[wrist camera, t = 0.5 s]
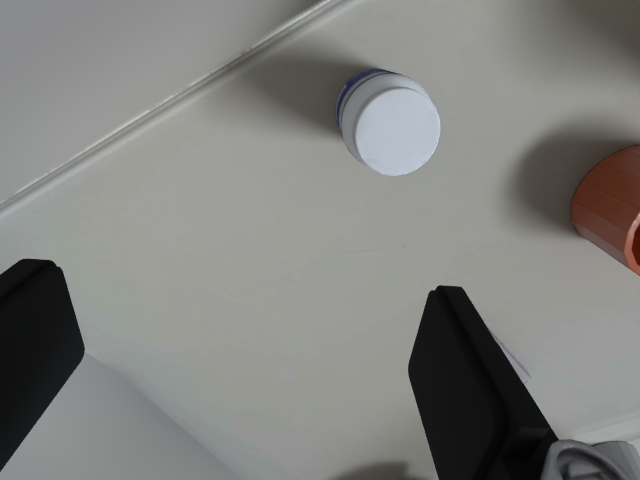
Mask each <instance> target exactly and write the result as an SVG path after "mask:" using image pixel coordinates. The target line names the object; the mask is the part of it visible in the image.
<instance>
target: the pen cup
mask: <svg viewBox="0 0 640 480" xmlns="http://www.w3.org/2000/svg"><path fill="white" fill-rule="evenodd" d="M571 219H572V222H573V225H574V227H575V229H576V230H577V231H578V232H579V233H580V234H581V235H582V236H583V237H585V238H586V239H587V240H589V241H590V242H592V243H593V244H595V245H596V246H597V247H599V248H600V249H602V250H603V251H604V252H606V253H607V254H609V255H610V256H612V257H613V258H614V259H616V260H617V261H619V262H620V263H622V264H623V265H624V266H626V267H627V268H629V269H630V270H632V271H633V272H635V273H636V274H638V275H639V276H640V145H639V146H633V147H629V148H626V149H623V150H621V151H618V152H616V153H614V154H612V155H610V156H609V157H607V158H606V159H604V160H602V161H601V162H600V163H599V164H597V165H596V166H595V167H594V168H593V169H592V170H591V171H590V172H589V173H588V174H587V175H586V176H585V178H584V179H583V180H582V182H581V183H580V185H579V186H578V188H577V190H576V192H575V194H574V197H573V200H572V205H571Z"/></svg>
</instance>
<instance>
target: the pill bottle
mask: <svg viewBox="0 0 640 480" xmlns="http://www.w3.org/2000/svg"><path fill="white" fill-rule="evenodd" d="M335 113H336V120H337V124H338V126H339V128H340V131H341V134H342V137H343V139H344V142H345V144H346V146H347V148H348V150H349V151H350V153H351V154H352V155H353V156H354V157H355V158H356V159H357V160H358V161H359V162H361V163H362V164H364V165H366V166H368V167H369V168H371V169H372V170H374V171H376V172H378V173H380V174H383V175H388V176H399V175H404V174H407V173H410V172H412V171H414V170H416V169H418V168H419V167H421V166H422V165H423V164H424V163H425V162H426V161H427V160H428V159H429V158H430V157H431V155H432V154H433V152H434V150H435V148H436V146H437V144H438V141H439V136H440V119H439V115H438V112H437V110H436V108H435V106H434V105H433V103H432V102H431V100H430V98H429V96H428V94H427V93H426V91H425V90H424V89H423V87H422V86H421V85H420V84H418V83H417V82H416V81H414V80H413V79H411V78H409V77H407V76H404V75H401V74H397V73H394V72H390V71H386V70H382V69H368V70H364V71H361V72H359V73H357V74H355V75H354V76H352V77H351V78H350V79H349V80H348V81H347V82H346V83H345V84H344V86H343V87H342V89H341V90H340V92H339V95H338V97H337V101H336V108H335Z"/></svg>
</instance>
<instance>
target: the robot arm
mask: <svg viewBox="0 0 640 480" xmlns="http://www.w3.org/2000/svg"><path fill="white" fill-rule="evenodd" d="M84 351H85V348H84V343H83V340H82V336H81V333H80V329H79V326H78V322H77V319H76V315H75V312H74V308H73V305H72V302H71V298H70V295H69V291H68V288H67V284H66V281H65V277H64V274H63V271H62V269H61V268H60V267H57V266H56V264H55V263H54V262H53V261H50V260H39V259H22V260H20V261H18V262H17V263H16V264H14V265H13V266H12V267H10V268H9V269H8V270H6V271H5V272H3V273H2V274H1V275H0V472H1V470H2V469H3V467H4V466H5V465H6V463H7V462H8V461H9V459H10V458H11V456H12V455H13V454H14V452H15V451H16V450H17V448H18V447H19V445H20V444H21V442H22V441H23V440H24V438H25V437H26V436H27V435H28V433H29V432H30V430H31V429H32V428H33V426H34V425H35V424H36V422H37V421H38V419H39V418H40V417H41V415H42V414H43V413H44V411H45V410H46V409H47V407H48V406H49V404H50V403H51V402H52V400H53V399H54V397H55V396H56V395H57V393H58V392H59V391H60V389H61V388H62V387H63V385H64V384H65V382H66V381H67V380H68V378H69V377H70V375H71V374H72V373H73V371H74V370H75V369H76V367H77V366H78V365H79V363H80V362H81V360H82V358H83V356H84ZM408 373H409V379H410V382H411V385H412V389H413V392H414V396H415V399H416V403H417V406H418V409H419V413H420V416H421V420H422V423H423V426H424V430H425V433H426V437H427V440H428V443H429V447H430V450H431V454H432V457H433V461H434V464H435V467H436V471H437V474H438V478H439V480H632V479H631V478H630V476H629V475H628V474H627V473H626V471H625V470H624V469H623V468H622V467H620V466H619V465H618V464H617V463H616V462H615V461H614V460H613V459H612V458H610V457H609V456H607V455H606V454H604V453H603V452H601V451H600V450H598V449H597V448H594V447H592V446H590V445H588V444H586V443H583V442H579V441H575V440H571V439H568V440H558V438H557V437H556V435H555V433H554V432H553V430H552V429H551V427H550V425H549V424H548V422H547V421H546V419H545V417H544V416H543V414H542V413H541V411H540V409H539V408H538V406H537V405H536V403H535V401H534V400H533V398H532V397H531V395H530V393H529V392H528V390H527V389H526V387H525V385H524V384H523V382H522V381H521V379H520V377H519V376H518V374H517V373H516V371H515V369H514V368H513V366H512V365H511V363H510V361H509V360H508V358H507V357H506V355H505V353H504V352H503V350H502V349H501V347H500V346H499V344H498V343H497V342H496V341H495V339H494V338H493V336H492V334H491V333H490V331H489V330H488V328H487V326H486V325H485V323H484V322H483V320H482V318H481V317H480V315H479V314H478V312H477V310H476V309H475V307H474V305H473V304H472V302H471V301H470V299H469V297H468V296H467V294H466V293H465V291H464V290H463V288H462V287H457V286H441V285H440V286H438V287H437V288H436V290H435V291H434V290H432V291H430V292H429V294H428V298H427V301H426V305H425V308H424V312H423V315H422V319H421V322H420V326H419V329H418V333H417V336H416V340H415V343H414V347H413V350H412V354H411V357H410V361H409V365H408Z"/></svg>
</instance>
